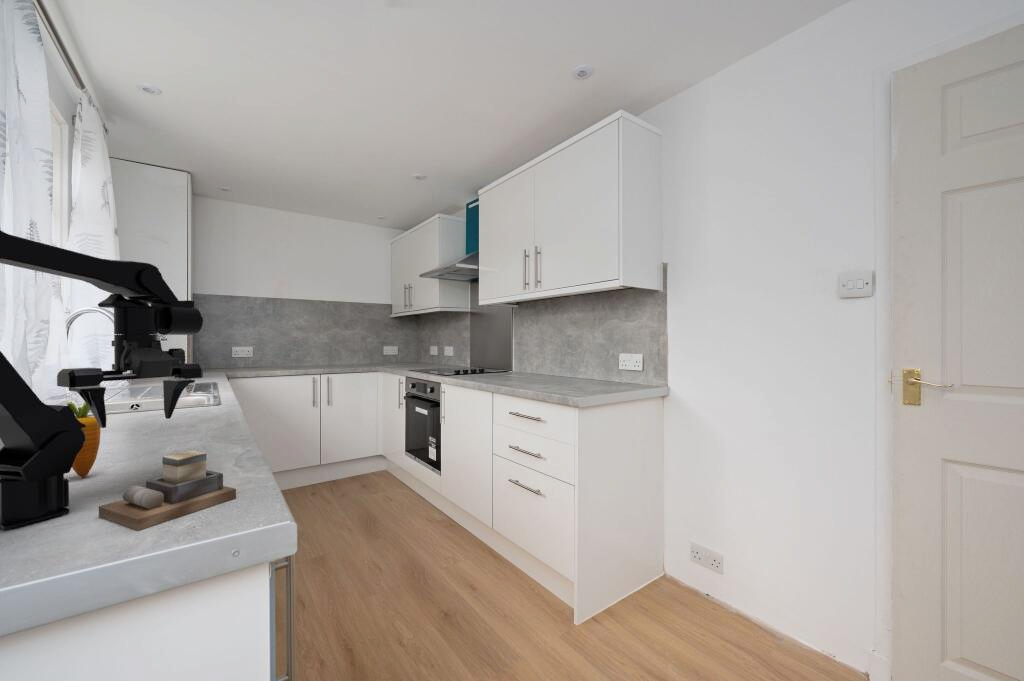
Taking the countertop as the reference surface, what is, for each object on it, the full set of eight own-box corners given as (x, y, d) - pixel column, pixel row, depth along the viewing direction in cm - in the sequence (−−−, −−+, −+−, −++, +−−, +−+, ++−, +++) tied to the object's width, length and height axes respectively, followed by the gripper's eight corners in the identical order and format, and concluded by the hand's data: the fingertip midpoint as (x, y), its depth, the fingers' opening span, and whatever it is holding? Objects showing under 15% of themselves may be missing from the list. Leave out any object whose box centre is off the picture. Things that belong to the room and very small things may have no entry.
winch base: (138, 530, 58) (137, 500, 58) (98, 516, 62) (98, 489, 62) (236, 498, 69) (235, 473, 69) (196, 488, 74) (196, 465, 74)
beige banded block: (177, 499, 65) (177, 459, 65) (162, 495, 67) (162, 456, 67) (206, 490, 69) (206, 453, 69) (192, 486, 70) (191, 450, 70)
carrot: (66, 483, 77) (65, 400, 77) (62, 478, 80) (61, 398, 80) (104, 476, 81) (103, 397, 81) (98, 471, 84) (97, 395, 84)
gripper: (82, 333, 64) (84, 438, 64) (218, 334, 80) (219, 417, 80) (55, 334, 69) (56, 431, 69) (187, 335, 86) (188, 413, 86)
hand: (137, 422), depth 76 cm, fingers open, 9 cm apart
